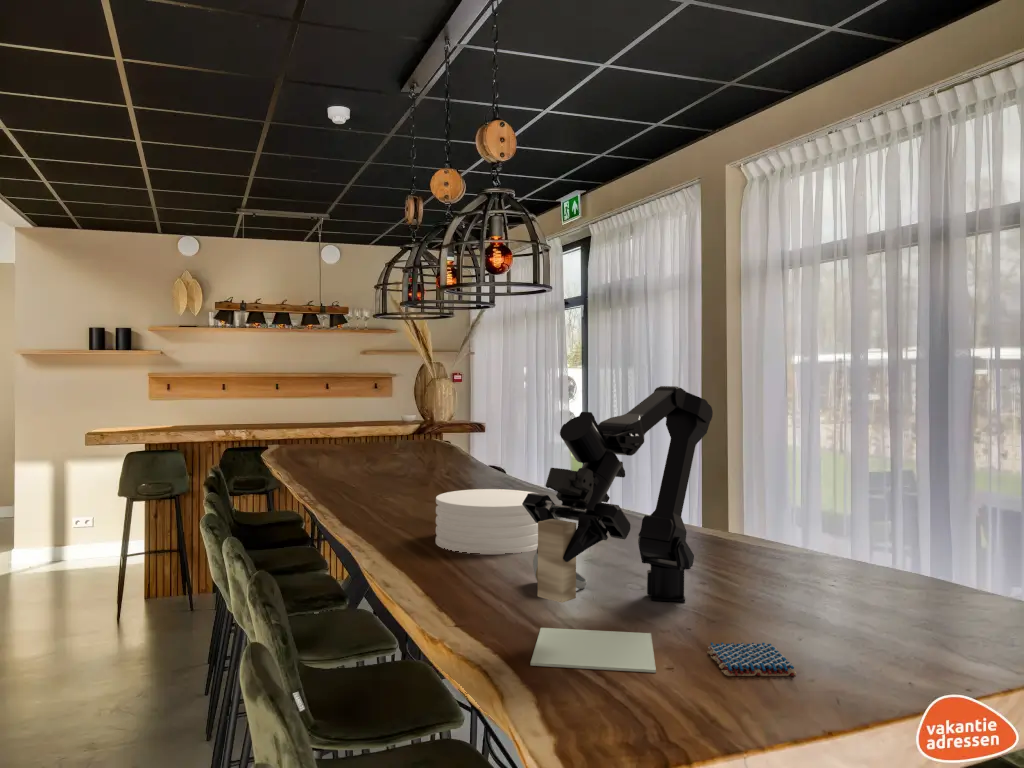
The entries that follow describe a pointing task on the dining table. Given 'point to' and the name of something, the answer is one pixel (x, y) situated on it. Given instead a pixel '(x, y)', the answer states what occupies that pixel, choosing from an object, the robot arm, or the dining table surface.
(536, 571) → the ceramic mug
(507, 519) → the plate stack
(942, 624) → the dining table surface
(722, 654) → the woven mat
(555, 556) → the beige rectangular block
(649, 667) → the sage placemat
